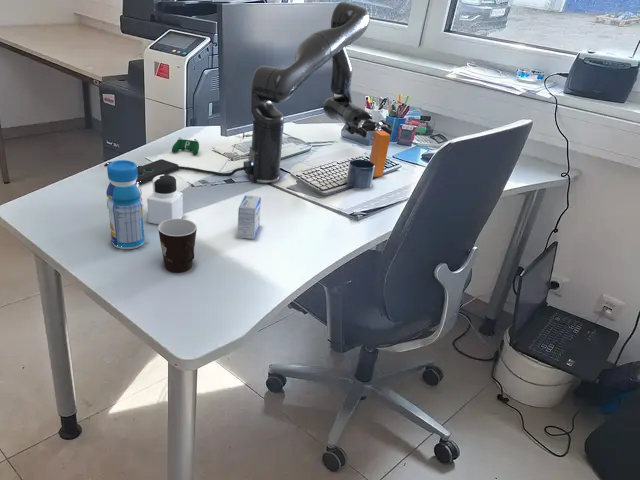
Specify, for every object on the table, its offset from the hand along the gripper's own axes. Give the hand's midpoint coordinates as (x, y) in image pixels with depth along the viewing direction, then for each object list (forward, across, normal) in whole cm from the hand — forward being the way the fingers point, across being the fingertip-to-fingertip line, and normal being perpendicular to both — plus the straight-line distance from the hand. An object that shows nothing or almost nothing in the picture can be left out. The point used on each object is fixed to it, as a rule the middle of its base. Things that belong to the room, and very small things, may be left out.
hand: (377, 134), depth 178 cm
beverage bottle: (+35, -83, +13) cm, 91 cm away
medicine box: (+35, -52, +13) cm, 64 cm away
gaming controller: (-28, -57, +13) cm, 65 cm away
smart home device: (-9, -73, +13) cm, 74 cm away
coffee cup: (+10, -9, +13) cm, 18 cm away
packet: (+3, 0, +13) cm, 13 cm away
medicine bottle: (+24, -72, +13) cm, 77 cm away
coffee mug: (+50, -73, +13) cm, 89 cm away
